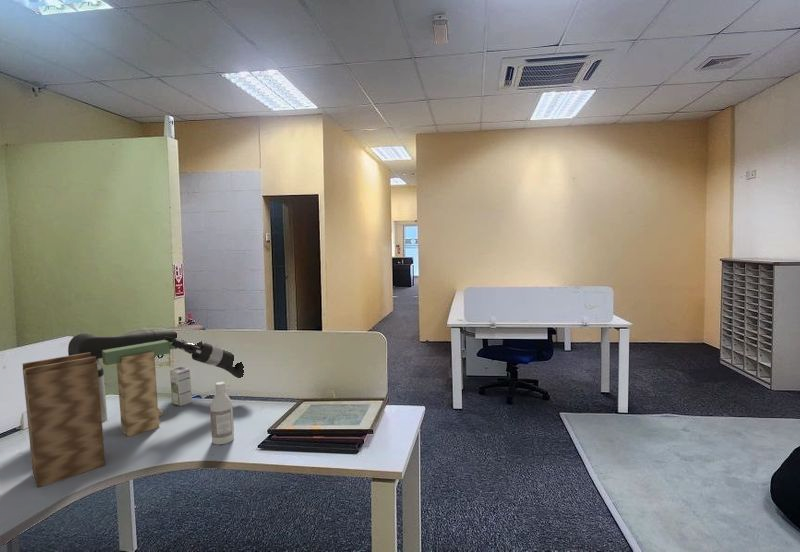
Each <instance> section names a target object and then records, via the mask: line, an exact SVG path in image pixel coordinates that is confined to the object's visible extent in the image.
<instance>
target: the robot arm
mask: <svg viewBox="0 0 800 552" xmlns="http://www.w3.org/2000/svg"><path fill="white" fill-rule="evenodd" d="M162 329H163V328H155V329H154V328H153V329H142V330H134V331H130V332H128V333H124V334H121V335H113V336H112V335H107V336H106V335H105V336H104V335H103V336H101V335H95V334H90V333H79V334H77V335H75V336H73V337H72V338H71V339H70V341H69V342H68V347H67V352H68V355H67V356H71V355H77V354H83V353H89V352H91V357H94V356H95V357H96V362H97V367H98V379H99V392H100V404H101V417H102V423H103V422H105V421H106V420H108V412H107V398H106V397H107V396H106V388H105V387H106V385H105V375H104V367H103V366H102V364H101V363H100V361H99V360H100V359H103V358H102V350H107V349H113V348H119V347H125V346H131V345H137V344H143V343H149V342H155V341H161V340H167V341H169V343H170V342H172V343H171V345H172V346H175V347H178V348H177V349H178V350H179V349H180V350H182V351H183V352H185V353H188V354H189V355H191V359H192V360H193V361H196V362H199V363H201V364H202V363H203V364H205V365H209V366H214V367H217V368H220V369H222V370H224V371H227V372H228V373H230V374H231V375H232V376H234V377H235V378H236V377H237V379H238V378H241V377H243V375H244V374H243V373H244V370H243V368H244V366H243V364H242V362H240V363H237V364H236V365H235V367H233V366H234V365H233V361H234V355H233V354H232V353H231V352H228V351H225V350H222V349H220V348H218V347H216V346H217V345H213V344H210V343H207V342H205V341H204V342H202V341H201V342H199V343H197V345H196V344H193V343H191V342H186V341H184V340H182V339H179V338H177V333H176V332H174V330H162ZM165 329H197V330H198V329H199V330H206V331H207V329H206V327H205V326H204V325H201V324H186V325H180V326H174V327H167V328H165ZM176 338H177V339H176Z"/></svg>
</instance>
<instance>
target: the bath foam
mask: <svg viewBox="0 0 800 552" xmlns="http://www.w3.org/2000/svg"><path fill="white" fill-rule="evenodd" d="M225 382H226V381H218V382H216V383H215V385H214V386H215V394H214V397H213V398H212V400H211V402H210V408H209V411H210V414H209V415H210V429H211V430H210V432H211V442H212V443H213V444H214V445H218V446H219V445H221V444H222V445H226V444H229V443H231V442H232V441H233V440H234V439H235V433H234V432H235V427H234V408H233V403H232V402H233V401H232V399H231V398H230V397H229V395H228V394H227V393H226V383H225Z"/></svg>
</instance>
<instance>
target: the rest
mask: <svg viewBox="0 0 800 552" xmlns="http://www.w3.org/2000/svg"><path fill="white" fill-rule="evenodd" d="M155 358H156V356H154V352H148V353H143V354H137V355H131V356H126V357H121V363H116V371H117V373H116V374H117V388H118V397H119V398H118V400H119V411H120V414H119V415H120V426H121V431H122V432H123V434H125V435H126V436H127V437H130V436H131V437H132V436H135V435H139V434H142V433H145V432H148V431H152V430H155V429H159V428H160V419H159V418H160V417H159V416H158V409H159V403H158V402H159V401H158V388H157V387H158V386H157V374H156V373H157V372H156V361H155Z"/></svg>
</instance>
